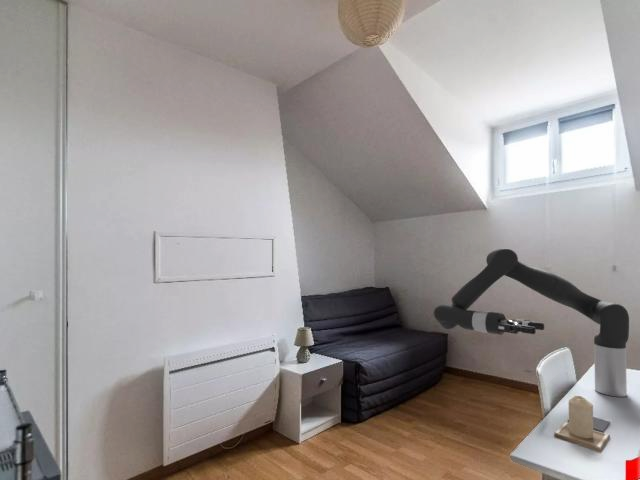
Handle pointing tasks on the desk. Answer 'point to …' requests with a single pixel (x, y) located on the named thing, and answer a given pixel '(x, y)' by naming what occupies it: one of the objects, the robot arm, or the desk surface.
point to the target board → (593, 443)
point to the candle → (581, 417)
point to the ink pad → (599, 424)
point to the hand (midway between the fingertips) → (539, 328)
